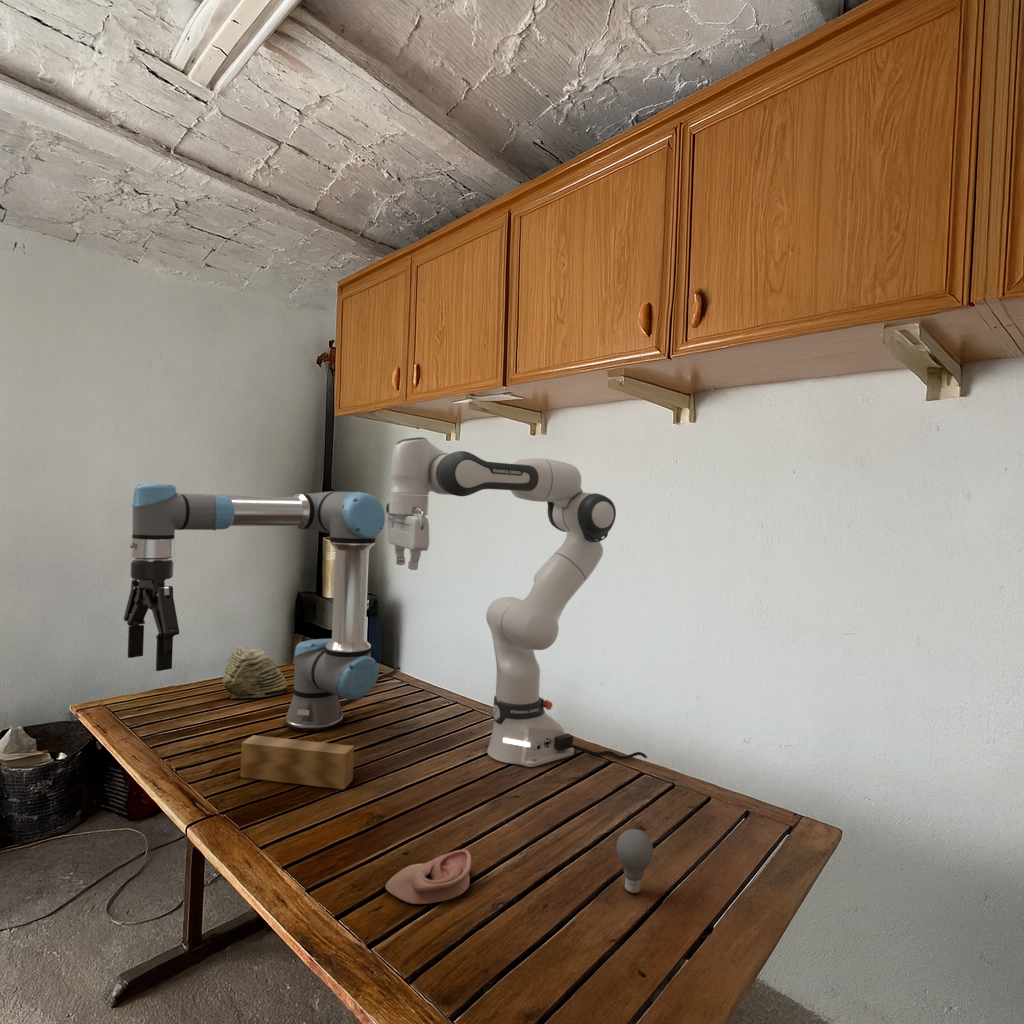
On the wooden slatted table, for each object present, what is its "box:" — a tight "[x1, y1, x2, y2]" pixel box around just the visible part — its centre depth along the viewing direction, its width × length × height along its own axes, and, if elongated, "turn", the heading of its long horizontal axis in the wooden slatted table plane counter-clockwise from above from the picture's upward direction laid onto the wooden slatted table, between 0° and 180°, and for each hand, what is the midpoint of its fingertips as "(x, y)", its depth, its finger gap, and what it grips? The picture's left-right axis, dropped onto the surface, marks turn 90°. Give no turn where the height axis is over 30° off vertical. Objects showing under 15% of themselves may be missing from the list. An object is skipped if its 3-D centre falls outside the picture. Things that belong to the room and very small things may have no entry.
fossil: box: [222, 646, 288, 699], centre depth 198 cm, size 9×18×15 cm, turn 132°
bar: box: [240, 734, 355, 790], centre depth 142 cm, size 24×5×8 cm, turn 81°
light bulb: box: [615, 828, 654, 894], centre depth 106 cm, size 6×6×10 cm
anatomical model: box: [385, 849, 472, 905], centre depth 105 cm, size 13×4×12 cm
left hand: (149, 663), depth 129 cm, fingers open, 13 cm apart
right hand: (406, 567), depth 146 cm, fingers open, 8 cm apart
